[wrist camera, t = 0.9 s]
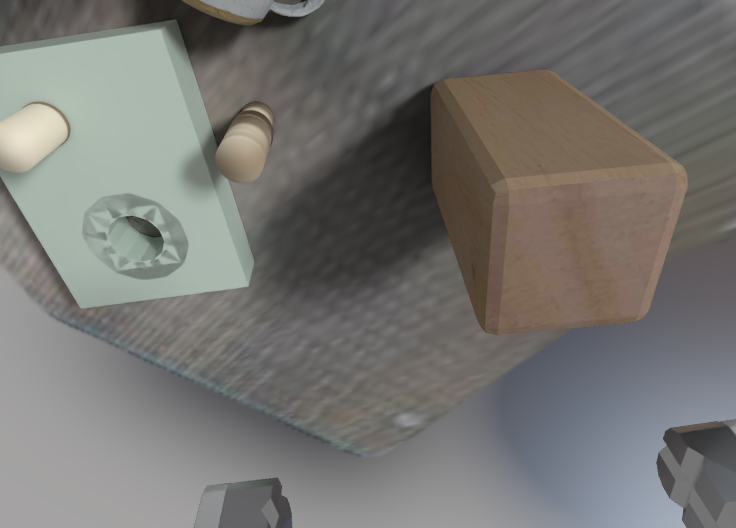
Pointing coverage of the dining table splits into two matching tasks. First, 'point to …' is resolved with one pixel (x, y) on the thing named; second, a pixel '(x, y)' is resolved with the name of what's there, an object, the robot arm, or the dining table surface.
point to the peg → (246, 143)
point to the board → (119, 165)
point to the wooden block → (549, 202)
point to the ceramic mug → (251, 9)
